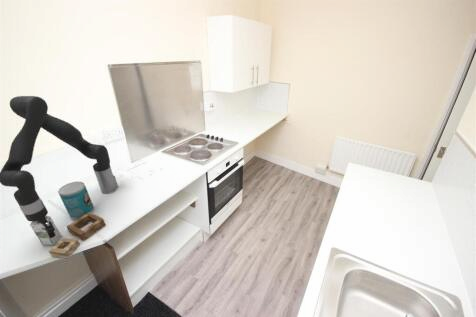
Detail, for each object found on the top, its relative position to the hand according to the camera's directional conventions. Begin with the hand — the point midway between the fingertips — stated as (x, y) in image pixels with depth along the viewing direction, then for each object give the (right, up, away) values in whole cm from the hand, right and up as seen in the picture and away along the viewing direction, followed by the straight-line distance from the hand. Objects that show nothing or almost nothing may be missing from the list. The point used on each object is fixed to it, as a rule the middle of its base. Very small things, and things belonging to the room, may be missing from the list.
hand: (48, 233), depth 106 cm
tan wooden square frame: (+11, -7, -2) cm, 13 cm away
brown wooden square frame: (+13, -1, +10) cm, 16 cm away
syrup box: (0, -5, +3) cm, 5 cm away
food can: (+2, +5, +21) cm, 21 cm away
